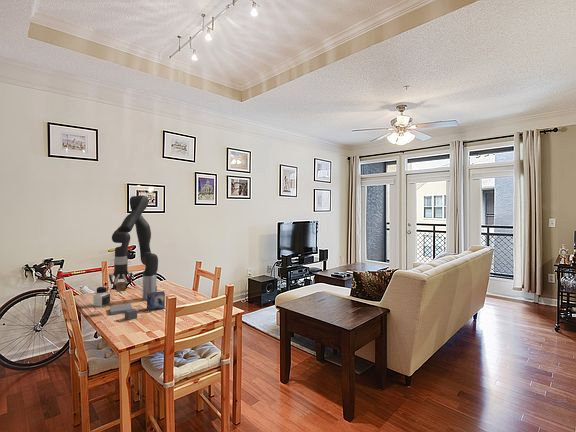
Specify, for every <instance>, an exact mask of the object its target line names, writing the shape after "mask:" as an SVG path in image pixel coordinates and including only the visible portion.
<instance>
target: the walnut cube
mask: <svg viewBox="0 0 576 432" xmlns="http://www.w3.org/2000/svg"><path fill="white" fill-rule="evenodd" d="M125 286H126V283H125V281H117V283H116V290H115V292H116V293H117V292H118V293H119V292H120V293H121V292H126V289H125Z"/></svg>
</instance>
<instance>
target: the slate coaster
mask: <svg viewBox="0 0 576 432" xmlns="http://www.w3.org/2000/svg"><path fill="white" fill-rule="evenodd" d="M132 307H133V306H132V304H131V303H127V304H126V303H125V304H120V305H113V306H112V305H111V306H109V313H110V316H115V315H120V314H121V315H122V314H125V310H129V309H133V308H132Z"/></svg>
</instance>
